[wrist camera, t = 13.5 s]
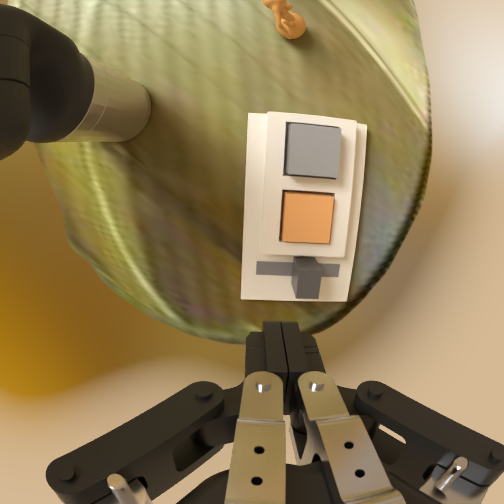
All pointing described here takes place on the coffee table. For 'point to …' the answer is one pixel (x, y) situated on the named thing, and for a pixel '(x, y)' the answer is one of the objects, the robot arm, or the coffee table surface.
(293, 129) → the grey button
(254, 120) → the control panel
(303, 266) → the dark grey block
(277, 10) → the figurine
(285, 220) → the orange button
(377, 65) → the coffee table surface
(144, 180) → the coffee table surface
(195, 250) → the coffee table surface
